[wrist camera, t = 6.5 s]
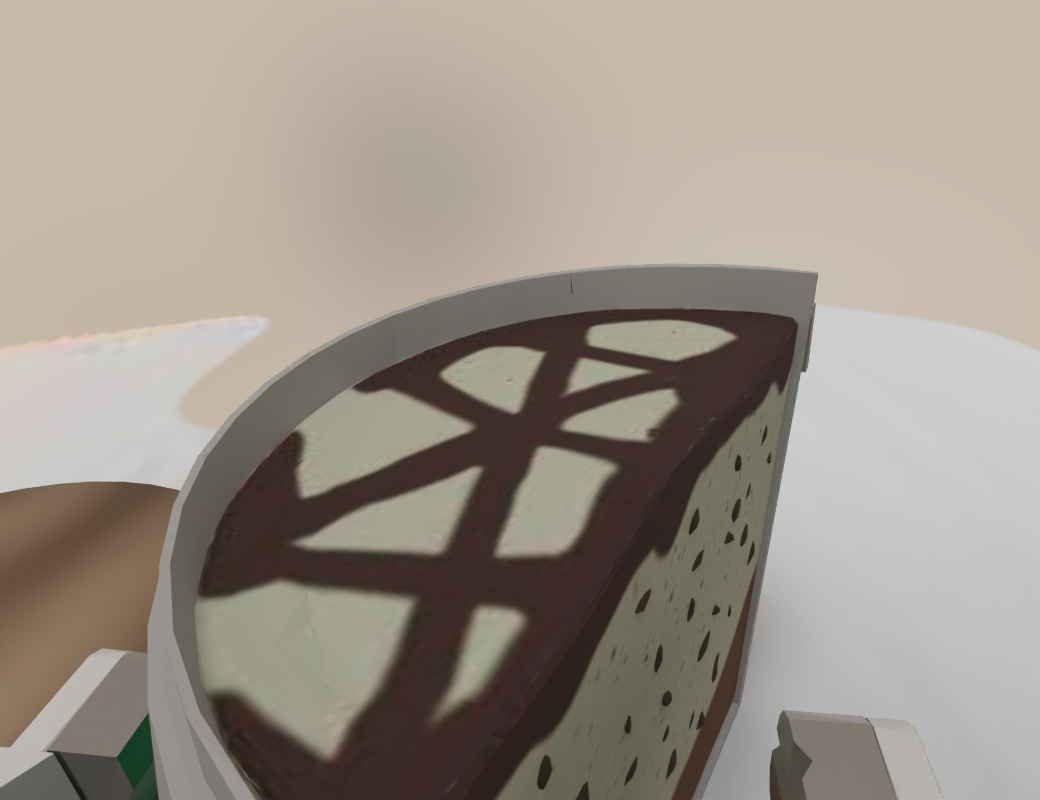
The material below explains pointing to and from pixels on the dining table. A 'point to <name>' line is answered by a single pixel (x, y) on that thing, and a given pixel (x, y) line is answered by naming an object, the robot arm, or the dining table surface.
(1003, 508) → the dining table surface
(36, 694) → the walnut trivet
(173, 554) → the food container
